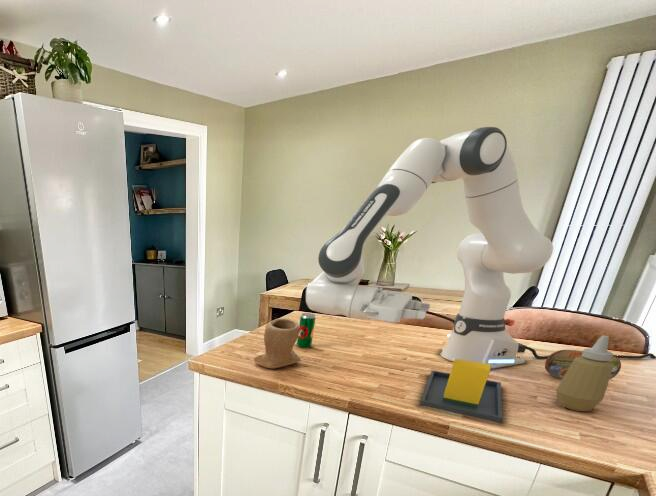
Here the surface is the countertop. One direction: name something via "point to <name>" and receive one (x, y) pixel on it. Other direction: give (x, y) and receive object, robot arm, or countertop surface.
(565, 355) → the tin
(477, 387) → the sponge
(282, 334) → the stone cup
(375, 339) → the countertop surface
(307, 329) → the soda can
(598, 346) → the squeeze bottle
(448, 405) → the tray
